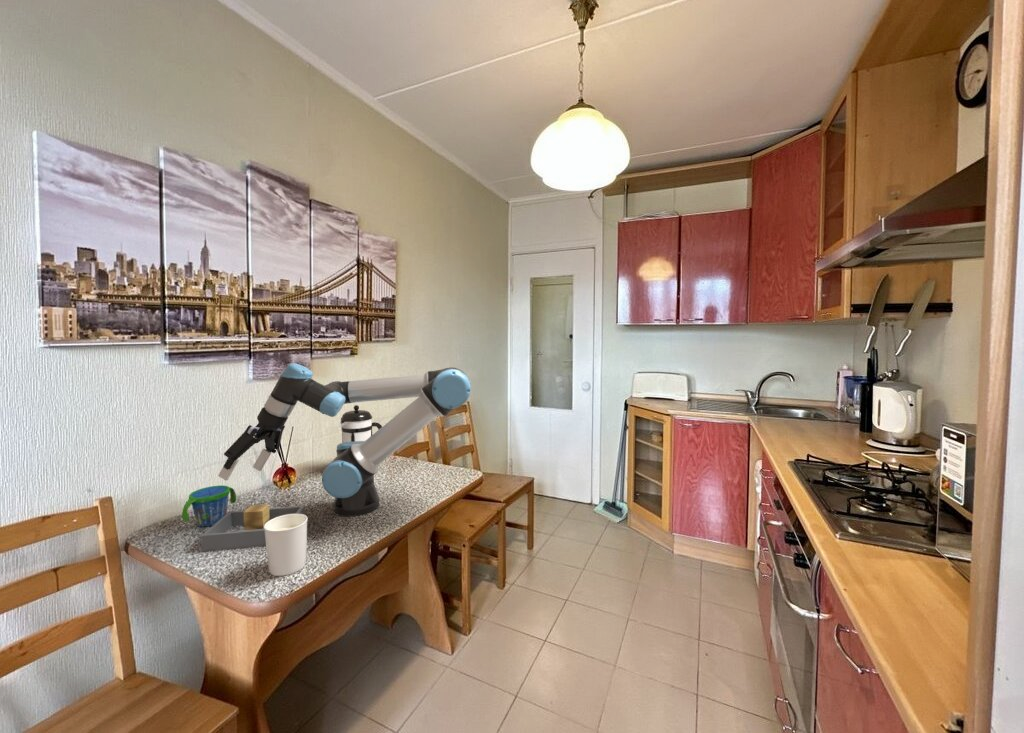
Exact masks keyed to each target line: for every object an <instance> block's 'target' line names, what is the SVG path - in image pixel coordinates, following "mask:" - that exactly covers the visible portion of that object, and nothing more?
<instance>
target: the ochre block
mask: <svg viewBox="0 0 1024 733" xmlns="http://www.w3.org/2000/svg"><path fill="white" fill-rule="evenodd" d="M269 508H270V504H267V503H266V504H256V505H255V504H254V505H250V506H249V507H248V508H246V509H245V510H246V511H245V512H244V530H243V531H245V530H256V529H264V525H265V524H266V523H267V522H268V521H270V515H269Z"/></svg>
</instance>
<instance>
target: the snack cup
mask: <svg viewBox="0 0 1024 733" xmlns="http://www.w3.org/2000/svg"><path fill="white" fill-rule="evenodd" d="M229 496H230V498H229ZM229 502H230V503H231V504H235V503H236V502H237V494H236V491H235V489H234V488H233V487H230V486H228V485H223V484H222V485H212V486H206V487H202V488H198V489H196V490H195V491H192V492H190V493H189V495H188V500H187V501H186V502H185V504H184V505H183V508H182V512H181V517H182V520H183V521H184V522H186V523H189V522H190V518H189V513H188V510H189V508H190V507H191V506H192V511H193V515H194V518H195V519H194V520H195V522H196V524H197V525H198V526H199V527H210V525H211V526H213V525H214V524H215V523H216V522H218V521H219V520H220V519H221V518H222V517H223V516H225V515H226V514H227V513H228V504H229Z"/></svg>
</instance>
